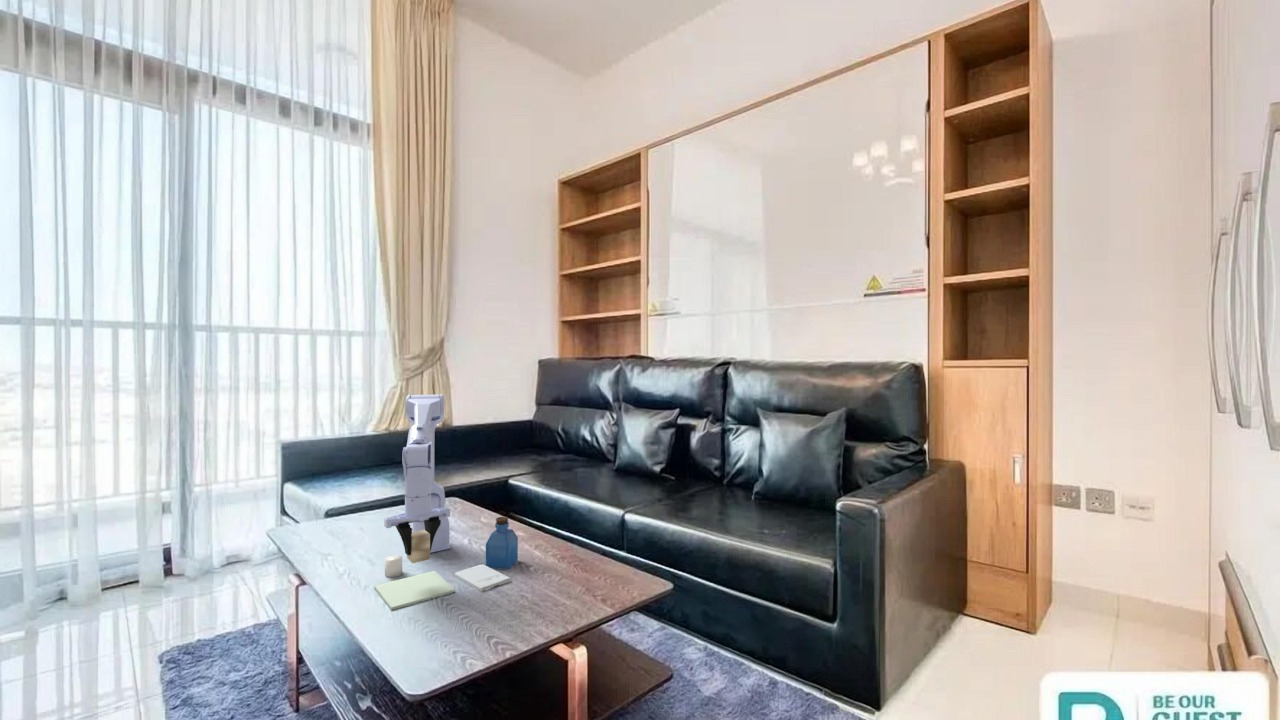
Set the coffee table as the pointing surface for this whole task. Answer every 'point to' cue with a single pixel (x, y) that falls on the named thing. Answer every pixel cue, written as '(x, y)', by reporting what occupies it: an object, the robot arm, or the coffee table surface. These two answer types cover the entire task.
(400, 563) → the ceramic cylinder
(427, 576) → the sage mat
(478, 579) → the external hard drive
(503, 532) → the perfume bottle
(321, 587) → the coffee table surface
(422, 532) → the birch block
